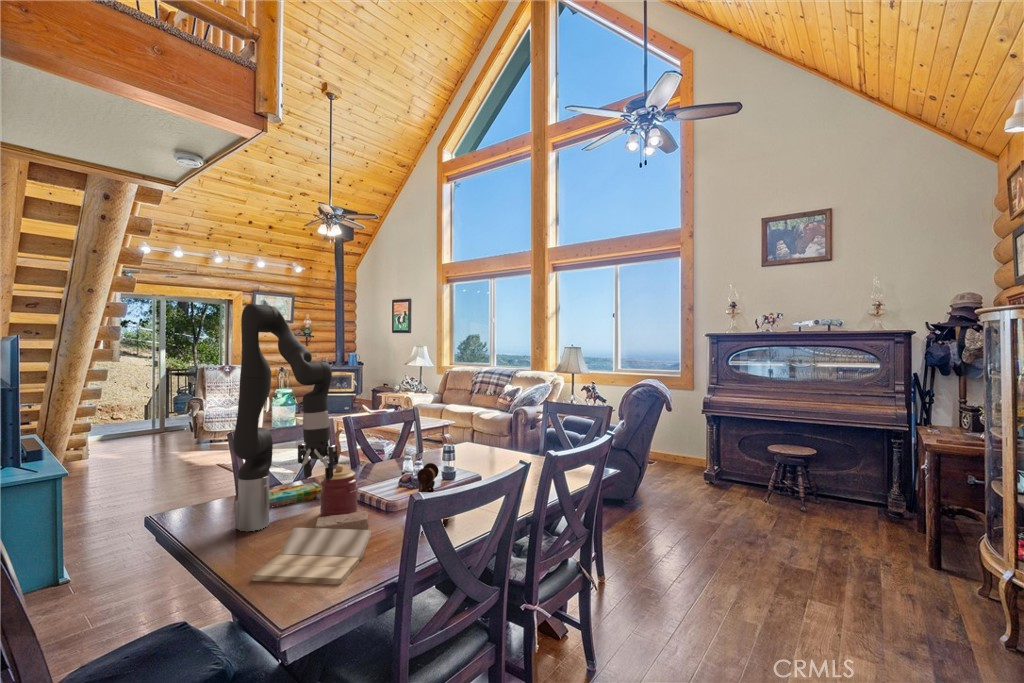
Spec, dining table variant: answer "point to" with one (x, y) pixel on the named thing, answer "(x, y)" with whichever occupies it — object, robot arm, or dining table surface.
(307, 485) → the puzzle game
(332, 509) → the canister
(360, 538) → the ash plank
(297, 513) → the dining table surface
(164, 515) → the dining table surface
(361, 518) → the brick
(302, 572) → the oak floor boards
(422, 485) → the dark brown upright piece
